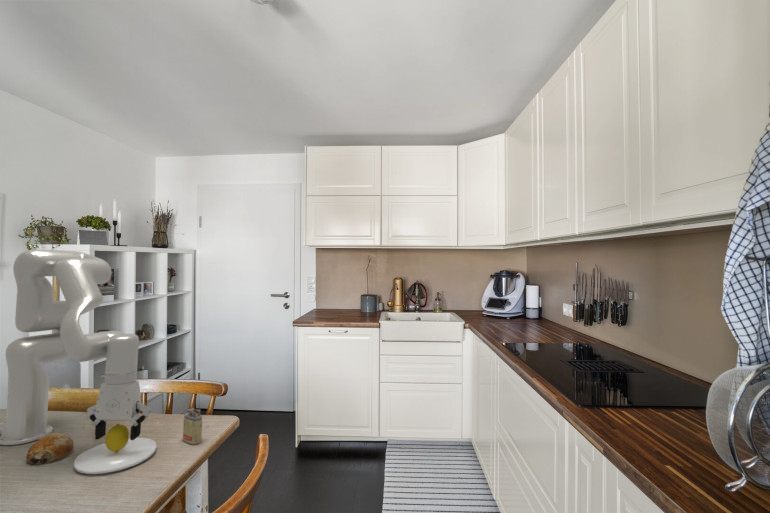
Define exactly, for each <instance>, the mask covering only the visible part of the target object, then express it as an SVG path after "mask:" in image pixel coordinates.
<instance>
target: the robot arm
mask: <svg viewBox="0 0 770 513" xmlns="http://www.w3.org/2000/svg"><path fill="white" fill-rule="evenodd" d="M13 275H14V280H15V283H16V290H17V292H16V302H15V303H16V304H15V316H14V317H15V318H14V320H15V327H16V329H17V330H18V331H20V332H22V333H37V332H47V331H53V332H52V333H47V334H38V335H30V336H24V337H20V338H17V339H15V340H13V341H12V342H10V343H9V344H8V345H7V347H6V349H5V361H6V364H7V374H8V375H7V376H8V377H7V379H8V380H7V382H8V383H7V396H6V397H7V398H6V413H5V422H4V421H3V422H0V432H1V435H0V445H1V446H15V445H21V444H27V443H31V442H35V441H38V440H39V439H41V438H43V437H44V436H46V435H49V434H52V433H53V429H54V428H53V426H52V425H49V424H48V408H49V393H50V392H49V390H50V376H49V374H48V372H47V371H46V370H45V369H43V367H42V365H46V364H51V363H55V362H60V361H65V360H68V359H70V360H72V361H74V362H77V363H84V362H89V361H95V360H98V359H104V358H105V372H103V373H102V374H101V375H100V377H101V379H104V382H103V383H101V385H100V388H99V392H98V395H97V398H96V399H97V400H96V404H94V405H92V406H90V407H88V408H87V409H86V412H87V414H88V416H89V419H90V421H91V422H93V423H92V424H93V426H95V427H94V428H95V430H94V440H96V441H98V440H100V439H101V438H103V437H106V435H107V431H106V430H107V421H110V422H111V421H122V422H123V421H129V422H130V423H131V424H132V425H131V427H130V433H129V438H130V440H134V439H136V438H139V436H140V434H141V428H142V427H141V426H142V423H143V422H144V421H145V420H146V419H147V418H148V415H149V414H150V413H151V411H152V408H151V407H149V406H147V405H146V404H145V403H143V402H142V401H141V400H142V399H141V398H142V396H141V387H140V383H139V380H137V378H138V361H139V346H140V345H139V342H140V340H139V339H140V338H139V336H138V334H134V333H125V332H123V331H119V330H108V331H100V332H92V333H86V334H84V332H83V330H82V327H81V325H80V318H81V316H82V315H85V314H86V313H88V312H90V311H92V310H94V309H96V308H98V307H99V306H100V305H101V304H102V303H103V302H104V297H103V294H102V292H101V290H100V288H99V286H98V285H103V284H104V285H105V284H106V283H108V282H109V281H110V279H111V277H112V268H111V266H110V264H109V263H108V262H107V261H106V260H105V259H103V258H100V257H97V256H95V255H91V254H89V253H86V252H82V251H73V250H57V249H56V250H55V249H29V250H25V251H22V252H21V253H19V254H18V255H17V257H16V258H15V261H14V263H13ZM46 277H55V279H56V280H57V283H58V285H59V288H60V290H61V293H62V295H63V298H64V299H65V300H54V299H53V298H54V287H53V285H52V284H51V282H50V281H49V279H47V278H46ZM140 411H141V412H142V413H141V412H140ZM140 413H141V414H140Z"/></svg>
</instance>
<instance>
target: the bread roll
mask: <svg viewBox="0 0 770 513" xmlns="http://www.w3.org/2000/svg"><path fill="white" fill-rule="evenodd" d="M74 448H75V447H74V440H73V439H72V438H71V437H70V436H69V435H68V434H66V433H63V432H51V433H50V434H49V435H46V436H44V437H43V438H41V439H38V440H36V442H34V444H32V445H31V446H30V448H29V449H28V450H27V454H26V456H25V459H26V461H27V463H28V464H30V465H38V466H39V465H44V464H48V463H50V464H51V463H53V462H57V461H60V460H62V459H64V458H65V457H68V456H69V455H71V454H72V453H73V452H74Z"/></svg>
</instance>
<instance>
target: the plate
mask: <svg viewBox="0 0 770 513" xmlns="http://www.w3.org/2000/svg"><path fill="white" fill-rule="evenodd" d="M156 451H157V443H156V441H155V440H153V439H150V438H147V437H137V438H136V439H134V440H130V437H129V440H128V443H127V444H126V446H125V447H124V448H122V449H121V450H119V451H118V452H117V453H116V452H114V451H110V450H109V449H108V448H107V447H106V444H105V442H103V443H100V444H98V445H96V446H93V447H91V448H89V449H87V450H85V451H83V452H81V453H80V454H79V455H78V456H77V457H76V458H75V460H74V463H73V468H74V470H75V471H77V472H78V473H81V474H85V475H99V474H108V473H113V472H114V473H115V472H118V471H122V470H125V469H128V468H131V467H134V466H136V465H138V464H141V463H143V462H144V461H146V460H148V459H149V458H151V457H152V456H153V455H154V454H155V453H156Z"/></svg>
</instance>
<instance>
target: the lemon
mask: <svg viewBox="0 0 770 513" xmlns="http://www.w3.org/2000/svg"><path fill="white" fill-rule="evenodd" d="M129 431H130V430H129V429H128V427H127V426H126V425H124V424H120V423H117V424H115V425H113V426H112V427H110V429H109V430H108V431H107V432H106V434H105V442H104V443H105V444H106V447H107V448H108V449H109V450H110V451H114V452H116V453H117V452H118V451H119V450H121V449H122V448H124V447H125V446H126V444H127V443H128V440H129V438H130V432H129Z"/></svg>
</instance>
